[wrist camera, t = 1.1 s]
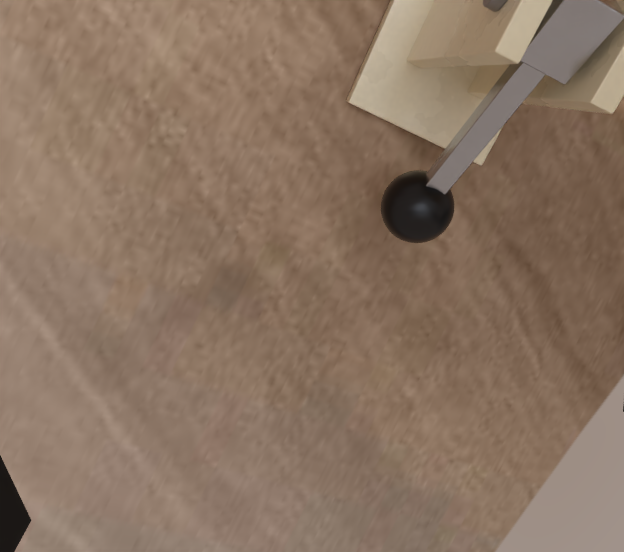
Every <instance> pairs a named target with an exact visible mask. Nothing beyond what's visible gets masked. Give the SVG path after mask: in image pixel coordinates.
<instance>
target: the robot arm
mask: <svg viewBox="0 0 624 552" xmlns="http://www.w3.org/2000/svg"><path fill="white" fill-rule="evenodd" d="M623 412H624V407H623ZM30 522H31V519H30V517H29V515H28V512H27V510H26V508H25V506H24V504H23V502H22V500H21V498H20V496H19V494H18V492H17V489H16V487H15V485H14V483H13V481H12V479H11V477H10V475H9V473H8V471H7V469H6V466H5V464H4V462H3V460H2V458H1V456H0V552H14V551H15V549H16V547H17V546H18V544H19V542H20V540H21V538H22V536H23V535H24V533H25V531H26V529H27V527H28V525H29V524H30Z"/></svg>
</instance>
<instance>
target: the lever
mask: <svg viewBox="0 0 624 552" xmlns="http://www.w3.org/2000/svg"><path fill="white" fill-rule="evenodd" d="M623 20H624V12H623V11H622V9H621V7H620V6H619V4H618V2H617V1H616V0H553V1H552V3H551V5H550V6H549V8H548V10H547V12H546V14H545V16H544V18H543V19H542V21H541V23H540V25H539V27H538V29H537V31H536V33H535V34H534V36H533V38H532V40H531V42H530V44H529V46H528V48H527V49H526V51H525V53H524V55H523V57H522V59H521V61H520V62H519V63H518V64H510V65H509V67H508V68H507V69H506V70H505V72H504V73H503V74H502V76H501V77H500V78H499V80H498V81H497V82H496V83H495V85H494V86H493V87H492V89H491V90H490V91H489V93H488V94H487V95H486V96H485V98H484V99H483V100H482V102H481V103H480V104H479V106H478V107H477V108H476V109H475V111H474V112H473V113H472V115H471V116H470V117H469V119H468V120H467V121H466V122H465V124H464V125H463V126H462V128H461V129H460V130H459V132H458V133H457V134H456V135H455V137H454V138H453V139H452V141H451V142H450V143H449V145H448V146H447V147H446V148H445V150H444V151H443V152H442V154H441V155H440V156H439V158H438V159H437V160H436V161H435V163H434V164H433V165H432V167H431V168H430V169H429V171H428V172H427V171H419V170H418V171H410V172H407V173H404V174H402V175H400V176H398V177H397V178H395V179H394V180H393V181H392V182H391V183H390V184H389V185H388V187H387V188H386V190H385V192H384V195H383V197H382V202H381V214H382V218H383V221H384V223H385V225H386V227H387V228H388V230H389V231H390V232H391V233H392V234H393V235H395V236H396V237H397V238H399V239H401V240H403V241H406V242H410V243H423V242H427V241H430V240H433V239H435V238H436V237H438V236H439V235H440V234H442V233H443V232H444V231H445V230H446V228H447V227H448V226H449V224H450V222H451V220H452V217H453V213H454V199H453V195H452V192H451V190H450V188H451V187H452V186H453V185H454V184H455V182H456V181H457V180H458V179H459V178H460V176H461V175H462V174H463V173H464V172H465V170H466V169H467V168H468V167H469V166H470V165H471V163H472V162H473V161H474V160H475V159H476V157H477V156H478V155H479V154H480V153H481V151H482V150H483V149H484V148H485V147H486V145H487V144H488V143H489V142H490V141H491V140H492V138H493V137H494V136H495V135H496V134H497V132H498V131H499V130H500V129H501V128H502V126H503V125H504V124H505V123H506V122H507V120H508V119H509V118H510V117H511V116H512V114H513V113H514V112H515V111H516V110H517V109H518V107H519V106H520V105H521V104H522V103H523V101H524V100H525V99H526V98H527V97H528V95H529V94H530V93H531V92H532V91H533V89H534V88H535V87H536V86H537V85H538V84H539V82H540V81H541V80H542V79H543V78H544V76H545V75H547V76H549V77H551V78H553V79H555V80H556V81H558V82H560V83H562V84H564V85H566V84H567V83H568V82H569V80H570V79H571V78H572V77H573V76H574V75H575V74H576V73H577V71H578V70H579V69H580V68H581V67H582V66H583V65H584V64H585V62H586V61H587V60H588V59H589V58H590V57H591V56H592V55H593V53H594V52H595V51H596V50H597V49H598V48H599V47H600V45H601V44H602V43H603V42H604V41H605V40H606V39H607V38H608V36H609V35H610V34H611V33H612V32H613V31H614V30H615V29H616V27H617V26H618V25H619V24H620V23H621V22H622V21H623Z"/></svg>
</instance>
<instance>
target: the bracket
mask: <svg viewBox="0 0 624 552" xmlns="http://www.w3.org/2000/svg"><path fill="white" fill-rule="evenodd" d="M552 1H553V0H391V1H390V3H389V5H388V8H387V10H386V12H385V14H384V17H383V19H382V21H381V23H380V26H379V28H378V30H377V32H376V35H375V37H374V39H373V41H372V44H371V46H370V48H369V50H368V53H367V55H366V57H365V59H364V62H363V64H362V66H361V68H360V71H359V73H358V75H357V77H356V79H355V82H354V84H353V86H352V88H351V91H350V93H349V95H348V97H347V100H346V102H348V103H350V104H352V105H354V106H356V107H358V108H360V109H362V110H364V111H367V112H369V113H371V114H373V115H375V116H377V117H379V118H381V119H383V120H385V121H387V122H390V123H392V124H394V125H396V126H398V127H400V128H402V129H404V130H406V131H408V132H411V133H413V134H415V135H417V136H419V137H421V138H423V139H425V140H427V141H429V142H431V143H434V144H436V145H438V146H440V147H442V148H444V149H445V148H446V147H447V146H448V145H449V143H450V142H451V141H452V139H453V138H454V137H455V135H456V134H457V133H458V132H459V130H460V129H461V128H462V126H463V125H464V124H465V122H466V121H467V120H468V119H469V117H470V116H471V115H472V113H473V112H474V111H475V109H476V108H477V107H478V106H479V104H480V103H481V102H482V100H483V99H484V98H485V96H486V95H487V94H488V93H489V91H490V90H491V89H492V87H493V86H494V85H495V83H496V82H497V81H498V80H499V78H500V77H501V76H502V74H503V73H504V72H505V70H506V69H507V68H508V67H509V65H510V64H518V63H519V62H520V61H521V59H522V57H523V55H524V53H525V51H526V49H527V48H528V46H529V44H530V42H531V40H532V38H533V36H534V34H535V33H536V31H537V29H538V27H539V25H540V23H541V21H542V19H543V18H544V16H545V14H546V12H547V10H548V8H549V6H550V5H551V3H552ZM616 1H617V2H618V4H619V6H620V7H621V9H622V11H623V12H624V0H616ZM623 96H624V20H623V21H622V22H621V23H620V24H619V25H618V26H617V27H616V29H615V30H614V31H613V32H612V33H611V34H610V35H609V36H608V38H607V39H606V40H605V41H604V42H603V43H602V44H601V45H600V47H599V48H598V49H597V50H596V51H595V52H594V53H593V55H592V56H591V57H590V58H589V59H588V60H587V61H586V62H585V64H584V65H583V66H582V67H581V68H580V69H579V70H578V71H577V73H576V74H575V75H574V76H573V77H572V78H571V79H570V80H569V82H568V83H567V84H566V85H564V84H562V83H560V82H558V81H556V80H555V79H553V78H551V77H549V76H547V75H545V76H544V78H543V79H542V80H541V81H540V82H539V84H538V85H537V86H536V87H535V88H534V89H533V91H532V92H531V93H530V94H529V95H528V97H527V98H526V99H525V100H524V101H523V103H522V104H528V105H536V106H545V107H554V108H562V109H571V110H580V111H588V112H597V113H606V114H613V113H614V111H615V109H616V108H617V106H618V104H619V103H620V101H621V99H622V98H623ZM503 126H504V125H503ZM503 126H502V128H503ZM502 128H501V129H500V130H499V131H498V132H497V134H496V135H495V136H494V137H493V138H492V140H491V141H490V142H489V143H488V144H487V145H486V147H485V148H484V149H483V150H482V151H481V153H480V154H479V155H478V156H477V157H476V159H475V160H474V161H473V163H475V164H478V165H480V166H482V164H483V163H484V161H485V159H486V157H487V155H488V153H489V152H490V150H491V148H492V146H493V144H494V142H495V141H496V139H497V137H498V135H499V133H500V131H501V130H502Z"/></svg>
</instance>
